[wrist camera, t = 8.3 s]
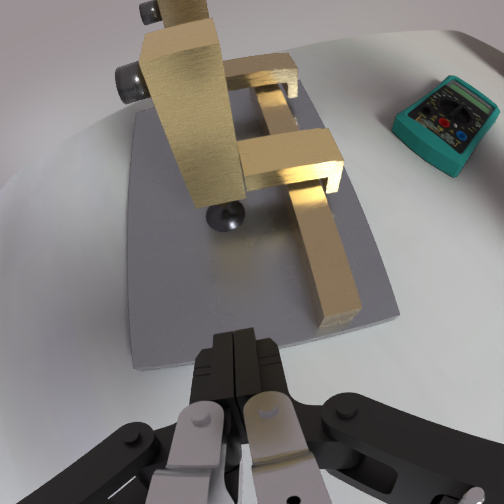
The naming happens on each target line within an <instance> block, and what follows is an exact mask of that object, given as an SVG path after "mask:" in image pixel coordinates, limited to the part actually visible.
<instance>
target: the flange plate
mask: <svg viewBox="0 0 504 504" xmlns="http://www.w3.org/2000/svg"><path fill="white" fill-rule="evenodd" d="M278 85H279V87H280V89H281V91H282V93H283V96H284V98H285V100H286V102H287V104H288V107H289V109H290V111H291V113H292V116H293V118H294V120H295V122H296V125H297V127H298V129H299V131H301V130H309V129H316V128H321V129H326V128H325V127H324V125H323V123H322V121H321V119H320V117H319V115H318V113H317V111H316V109H315V107H314V105H313V103H312V102H311V100H310V98H309V96H308V94H307V92H306V91H305V89H304V87H303V85H302V83H301V82H300V80H298V89H297V97H294V98H288V97H287V95H286V93H285V91H284V88H283V86H282V84H281V83H278ZM228 95H229V101H230V107H231V113H232V118H233V124H234V130H235V136H236V141H241V140H246V139H252V138H257V137H263V136H264V133H263V130H262V127H261V123H260V120H259V117H258V114H257V111H256V108H255V105H254V102H253V99H252V96H251V93H250V90H249V88H244V89H238V90H233V91H228ZM240 165H241V163H240ZM241 171H242V168H241ZM242 177H243V172H242ZM319 181H320V184H321V186H322V183H321V180H320V178H319ZM243 182H244V188H245V194H246V198H245V199H240V200H236V201H231V202H229V204H228V205H227V206H225V207H219V206H218V205H217V204H216V205H212V206H207V207H202V208H198V209H196V208H195V205H194V203H193V200H192V198H191V196H190V193H189V191H188V188H187V186H186V183H185V181H184V179H183V176H182V174H181V171H180V169H179V166H178V164H177V161H176V159H175V156H174V154H173V151H172V149H171V146H170V144H169V141H168V139H167V136H166V134H165V131H164V128H163V126H162V123H161V121H160V118H159V116H158V113H157V110H156V108H155V107H154V108H151V109H147V110H144V111H141V112H137V113H136V119H135V127H134V136H133V146H132V157H131V169H130V184H129V203H128V238H127V268H128V303H129V322H130V336H131V349H132V360H133V369H137V370H151V369H160V368H168V367H176V366H183V365H190V364H195V358H196V357H197V355H198V354H199V353H200V351H201V350H202V349H206V348H212V345H213V335H214V334H217V333H223V332H229V331H233V332H234V331H235V330H240V329H246V328H251V327H254V331H255V336H256V340H259V339H265V338H271V339H272V340H273V341H274V342H275V343H276V344H277V345H278V349H281V348H286V347H290V346H295V345H299V344H304V343H308V342H312V341H317V340H321V339H325V338H329V337H333V336H337V335H341V334H345V333H348V332H352V331H356V330H360V329H363V328H367V327H370V326H374V325H377V324H381V323H384V322H388V321H391V320H394V319H395V318H397V317H398V316H399V315H400V313H399V309H398V306H397V303H396V300H395V297H394V294H393V291H392V287H391V284H390V281H389V279H388V276H387V273H386V270H385V267H384V264H383V261H382V259H381V256H380V253H379V250H378V248H377V245H376V242H375V240H374V237H373V234H372V232H371V229H370V227H369V224H368V222H367V219H366V217H365V214H364V212H363V209H362V207H361V205H360V202H359V200H358V197H357V195H356V193H355V190H354V188H353V186H352V184H351V181H350V179H349V177H348V175H347V172H346V170H345V168H344V166H343V169H342V173H341V178H340V182H339V187H338V191H337V192H333V193H327V194H326V193H325V191H324V188H323V186H322V189H323V191H324V194H325V197H326V199H327V202H328V205H329V208H330V210H331V213H332V216H333V219H334V221H335V224H336V227H337V230H338V233H339V236H340V239H341V242H342V244H343V247H344V250H345V253H346V256H347V259H348V263H349V266H350V269H351V272H352V275H353V278H354V281H355V285H356V288H357V291H358V295H359V298H360V301H361V305H362V309H361V310H360V311H359V312H358V313H357V315H356V316H355V317H354V318H353V319H352V320H349V321H345V322H341V323H337V324H333V325H329V326H325V327H321V328H318V324H317V320H316V316H315V312H314V308H313V304H312V300H311V296H310V292H309V288H308V284H307V281H306V277H305V273H304V269H303V266H302V262H301V258H300V255H299V251H298V247H297V244H296V240H295V236H294V233H293V229H292V226H291V222H290V219H289V215H288V212H287V208H286V205H285V202H284V198H283V195H282V191H281V188H280V185H279V186H273V187H268V188H263V189H258V190H252V191H247V190H246V186H245V181H244V177H243Z"/></svg>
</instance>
